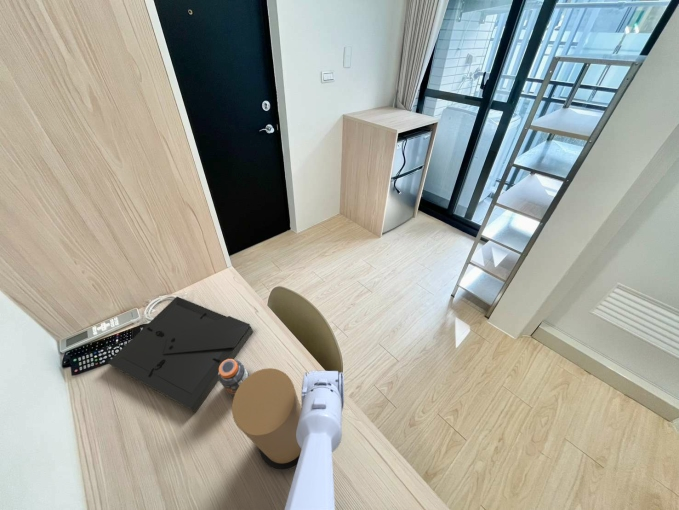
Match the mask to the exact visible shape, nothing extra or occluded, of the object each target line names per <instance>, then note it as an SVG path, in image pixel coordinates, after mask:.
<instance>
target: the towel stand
mask: <svg viewBox="0 0 679 510" xmlns="http://www.w3.org/2000/svg"><path fill="white" fill-rule="evenodd" d="M258 451H259V454H260V457H261V459H262V460H263V462H264V463H265V464H266V465H267V466H268V467H269V468H271V469H273V470H276V471H282V472H283V471H289V470H291V469H294V468H296V467H297V464H298V460H299V457H300V455H299V456H298V457H297V458H296V459H294V460H293V461H291V462H288V463H283V464H282V463H276V462H274V461H272V460H271V459H269V458H268V457H267V456H266V455H265V454H264V453H263V452H262V451H261V450H260V449H259V448H258Z"/></svg>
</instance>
